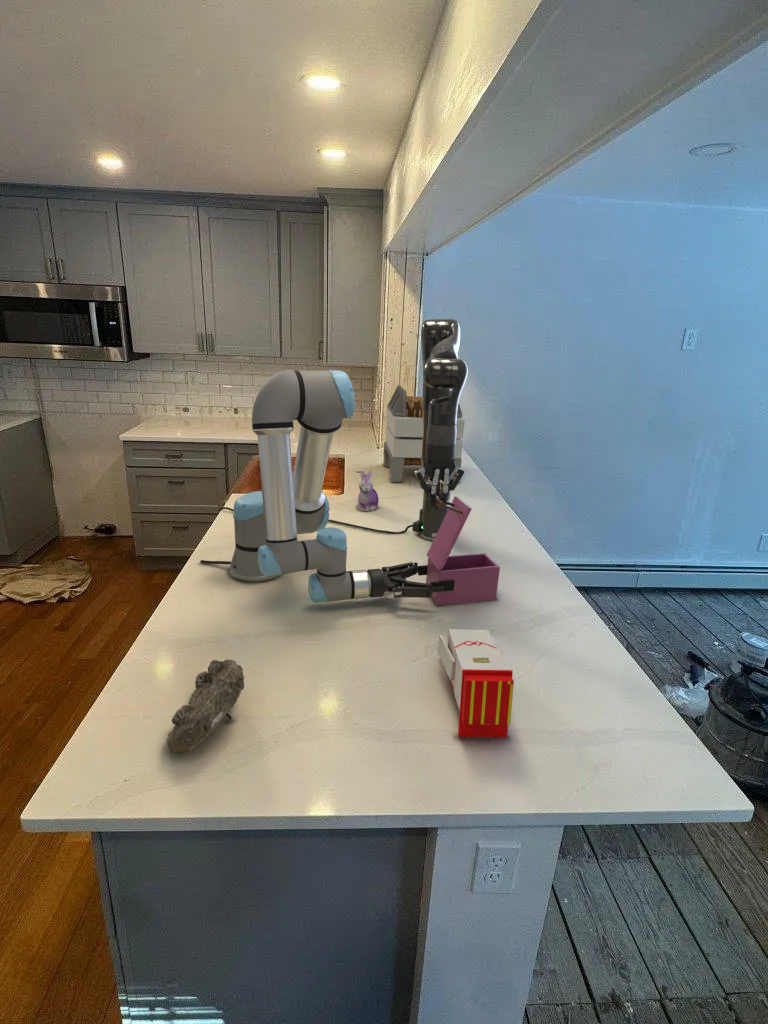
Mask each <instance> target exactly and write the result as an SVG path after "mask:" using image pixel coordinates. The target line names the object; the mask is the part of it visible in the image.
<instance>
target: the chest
mask: <svg viewBox="0 0 768 1024" xmlns="http://www.w3.org/2000/svg"><path fill="white" fill-rule="evenodd" d="M426 565H427V575H426V579H425V583H426V584H431V582H438V581H449V580H454V581H455V583H454V590H453V591H442V592H433V593H432V596H431V598H430V599H431V600H432V601H433V603H434V604H435V605H436V606H437V607H439V606H449V605H458V604H466V603H467V604H469V603H477V602H486V601H496V600H497V594H498V586H499V578H500V570H501V566H500V565H499V564H497V562H496V561H495V560H493V558H491V557H490V556H489V554H487V553H486V552H481V553H470V554H469V553H467V554H455V555H449V556H448V558H447V561H446V563H445V565H444V567H443V569H442V570H439V569H438V568H437V567H436V566H435V565H434V564H433V562H432V561H431V560H430V559H429V557H427V564H426Z"/></svg>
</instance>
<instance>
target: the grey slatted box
mask: <svg viewBox="0 0 768 1024" xmlns="http://www.w3.org/2000/svg"><path fill="white" fill-rule="evenodd" d="M407 394H408V393H407V390H406V389H404V388H403V387H402V385H399V384H398V385H397V386H396V388H395V390H394V392H393V394H392V395H391V398H390V400H389V402H388V404H387V405H386V413H385V414H386V415H385V423H386V428H385V438H384V442H383V466H384V467H388V468H389V475H388V476H389V477H388V478H389V480H390V482H391V483H402V482H403V475H404V469H405V466H406V467H407V466H411V467H412V466H413V467H415V466H416V467H417V466H418V467H423V466H422V461H421V455H422V439H423V409H422V396H415V395H414V396H413V395H412V396H411V395H407ZM456 428H457V437H456V451H455V460H454V461H455V464H456V467H458V468H460V469H462V461H463V460H462V453H463V442H464V441H463V440H462V439H463V438H464V431H465V430H464V429H465V419H464V418H463V411H462V408H461V405H460V402H459V403H458V409H457V422H456ZM453 472H454V471H453ZM453 472H452V476H453ZM459 483H461V480H460V481H459Z"/></svg>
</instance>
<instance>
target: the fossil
mask: <svg viewBox="0 0 768 1024" xmlns="http://www.w3.org/2000/svg"><path fill="white" fill-rule="evenodd" d="M243 670H244V669H243V667H242V665H240V664H237V662H236V661H235V660H234V659H232V658H231V659H227V658H226V659H224V660H223V661H222V660H217V659H212V660H211V661H210V663H209V665H208V666H207V671H201V672H199V673H198V674H197V675H196V676H195V680H194V684H195V685H194V687H195V689H194V690H193V693H192V694H191V697H190V698H189V700H188V704H184V705H182V706H181V707H180V709H177V710H176V711H175V713H174V715H173V716H172V718H171V723H172V724H173V727H172V730H171V731H170V732H168V734H167V738H166V741H167V742H166V745H167V749H168V750H169V751H173V752H174V753H176V754H178V753H182V752H188V751H189V752H192V751H193V750H195V748H196V747H197V746H199V744H200V743H201V742H203V741H204V740H205V739H206V738H207V737H208V736H209V735H210V734H211V733H212V732H214V730H215V729H217V727H218V726H219V724H220V722H221V721H222V720H223V719H224V718H225V716H226V717H227V719H229V720H233V717H232V715H230V714H229V710H230V709H231V708H234V706H235V704H236V703H237V702H238V699H239V697H240V695H241V693H242V691H243V690H245V689H244V688H245V675H244V671H243Z"/></svg>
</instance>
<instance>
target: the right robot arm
mask: <svg viewBox="0 0 768 1024" xmlns="http://www.w3.org/2000/svg"><path fill="white" fill-rule="evenodd" d="M460 326H461V325H460V323H459V322H458V320H456V319H453V318H428V319H425V320H423V322H422V324H421V330H420V333H421V334H420V342H421V343H420V344H421V345H420V346H421V358H422V359H421V360H422V392H421V393H422V395H421V397H422V409H423V439H422V455H421V461H422V466H421V468H419V469H418V470H417V469H414V470H413V475H414V476H415V478H416V481H417V482H418V485H420V488H421V489H422V491H423V493H422V496H423V497H422V506H421V508H420V509H419V516H418V520H416V521H414V522H412V524H408V525H407V526H406V527H405V528H404V530H402V531H390V530H381V529H376V528H372V527H366V526H363V525H362V526H361V525H356V524H352V523H348V522H344V521H338V520H333V519H329V520H328V523H334V524H339V525H344V526H348V527H352V528H356V529H363V530H366V531H372V532H375V533H382V534H383V533H384V534H389V535H400V534H405V533H407V531H408V530H409V529H410V528H412V530H411V531H412V532H414V533H417V535H418V536H420V538H421V539H424V540H426V541H432V542H433V540H434V538H435V536H436V534H437V532H438V530H439V528H440V526H441V524H442V522H443V520H444V518H445V515H446V513H447V511H448V509H447V508H444V509H440V508H439V507H438V506H437V505H436V504H435V502H436V496H438V497H439V498H440V499H441V500H442V501H443V502H444V503H445V504H446V501H448V502H451V494H452V493H451V491H452V492H453V491H455V489H456V488H457V486H458V484H459V483H460V482H461V479H462V478H463V476H464V474H465V470H464V469H462V468H461V469H460V468H458V467H456V464H455V461H454V460H455V451H456V437H457V428H456V422H457V409H458V403H459V404H460V398H461V396H462V392H463V389H464V387H465V384H466V381H467V378H468V374H469V373H468V372H469V369H468V365H467V363H466V362H465V361H464V359H461V358H459V355H458V354H459V349H460V344H461V327H460ZM453 471H454V472H453ZM452 472H453V476H452ZM425 474H426V475H427V477H428V478H427V479H425V476H426V475H425ZM459 481H460V482H459ZM446 505H447V506H450V505H448V504H446ZM223 510H228V511H230V512H233V513H234V508H230V507H227V506H222V507H220V508H219V509H218V511H219V512H221V511H223Z"/></svg>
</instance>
